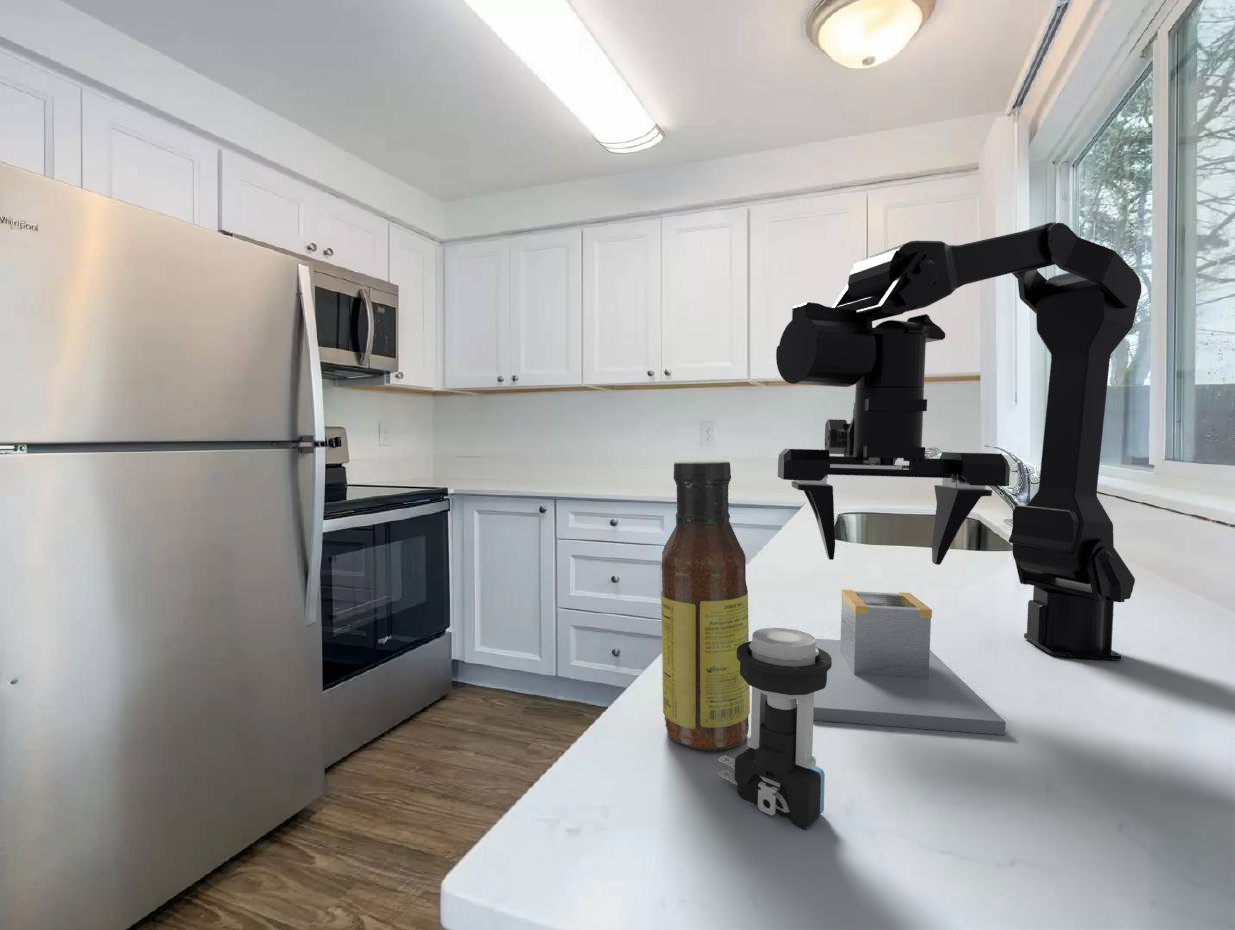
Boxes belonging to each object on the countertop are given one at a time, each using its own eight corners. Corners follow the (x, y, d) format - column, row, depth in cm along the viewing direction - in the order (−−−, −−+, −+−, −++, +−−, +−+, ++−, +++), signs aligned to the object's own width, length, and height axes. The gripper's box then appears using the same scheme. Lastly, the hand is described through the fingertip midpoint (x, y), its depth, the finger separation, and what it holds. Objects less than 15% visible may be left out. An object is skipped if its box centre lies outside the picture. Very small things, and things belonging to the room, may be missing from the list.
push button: (696, 797, 38) (700, 631, 38) (742, 764, 42) (746, 614, 42) (801, 846, 34) (806, 658, 33) (842, 804, 38) (847, 636, 37)
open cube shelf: (929, 679, 55) (932, 609, 55) (853, 674, 56) (855, 605, 56) (907, 655, 62) (909, 592, 61) (839, 651, 62) (841, 589, 62)
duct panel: (924, 654, 65) (927, 596, 65) (1004, 735, 47) (1008, 654, 47) (783, 646, 67) (784, 589, 67) (808, 719, 49) (810, 642, 49)
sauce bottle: (754, 724, 48) (760, 460, 48) (742, 762, 42) (749, 463, 42) (669, 710, 50) (675, 458, 50) (647, 745, 45) (652, 460, 44)
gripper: (964, 397, 65) (958, 551, 65) (774, 395, 67) (770, 543, 68) (1016, 388, 54) (1008, 573, 54) (786, 386, 56) (781, 562, 57)
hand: (882, 561), depth 58 cm, fingers open, 9 cm apart
